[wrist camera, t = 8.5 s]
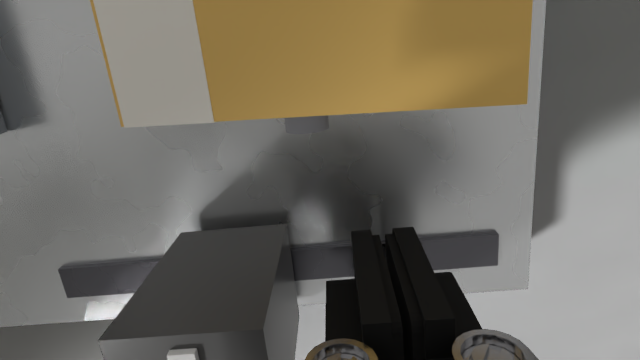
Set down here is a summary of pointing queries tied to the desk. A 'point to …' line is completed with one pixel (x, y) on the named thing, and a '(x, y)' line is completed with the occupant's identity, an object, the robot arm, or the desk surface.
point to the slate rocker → (2, 124)
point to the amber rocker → (310, 58)
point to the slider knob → (213, 301)
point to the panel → (236, 180)
